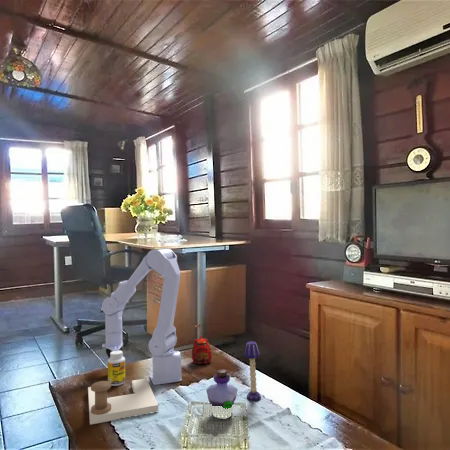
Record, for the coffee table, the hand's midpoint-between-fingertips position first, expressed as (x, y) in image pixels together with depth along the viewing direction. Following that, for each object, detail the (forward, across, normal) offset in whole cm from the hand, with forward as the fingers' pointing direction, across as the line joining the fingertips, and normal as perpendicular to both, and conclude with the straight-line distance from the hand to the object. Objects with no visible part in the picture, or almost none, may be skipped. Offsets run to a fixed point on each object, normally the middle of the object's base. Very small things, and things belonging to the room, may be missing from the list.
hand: (114, 369), depth 135 cm
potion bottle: (+2, +42, +25) cm, 49 cm away
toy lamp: (+2, +36, +37) cm, 52 cm away
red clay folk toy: (+2, +1, +32) cm, 32 cm away
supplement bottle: (+2, +9, 0) cm, 9 cm away
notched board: (+1, +24, 0) cm, 24 cm away
